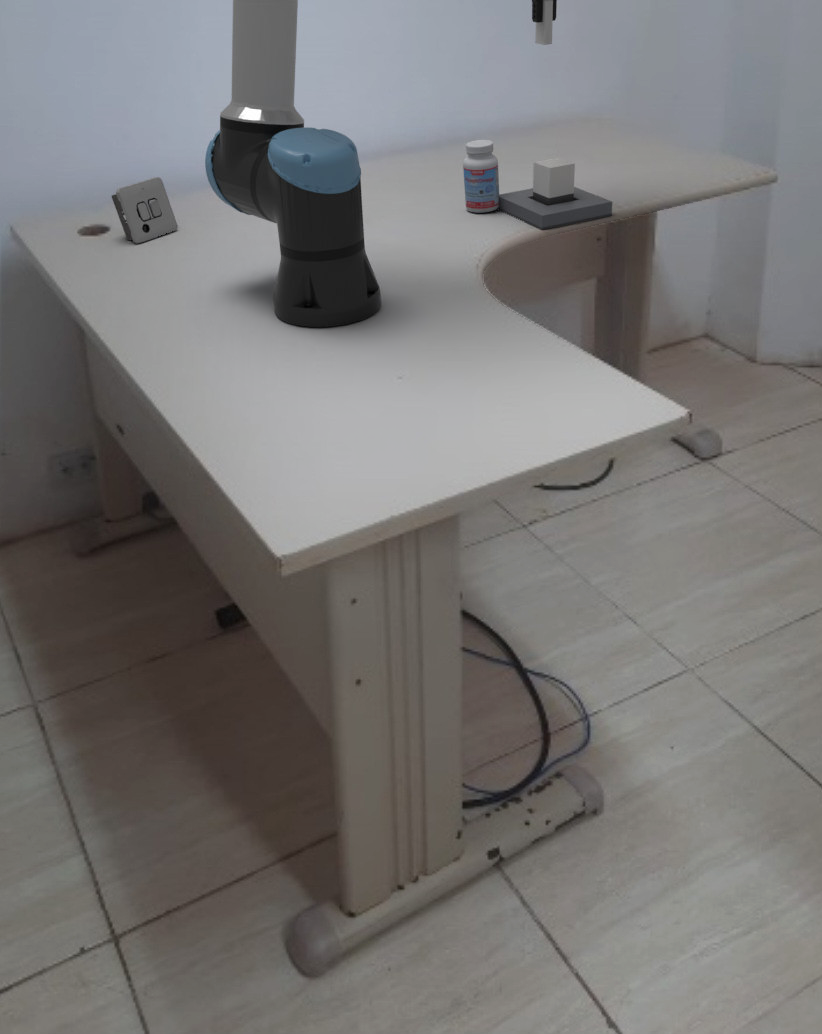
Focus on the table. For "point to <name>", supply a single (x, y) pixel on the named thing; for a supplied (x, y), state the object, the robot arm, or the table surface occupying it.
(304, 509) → the table surface
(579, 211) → the socket plate
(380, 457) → the table surface
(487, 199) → the pill bottle
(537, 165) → the plug
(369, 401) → the table surface
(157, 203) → the electrical switch
